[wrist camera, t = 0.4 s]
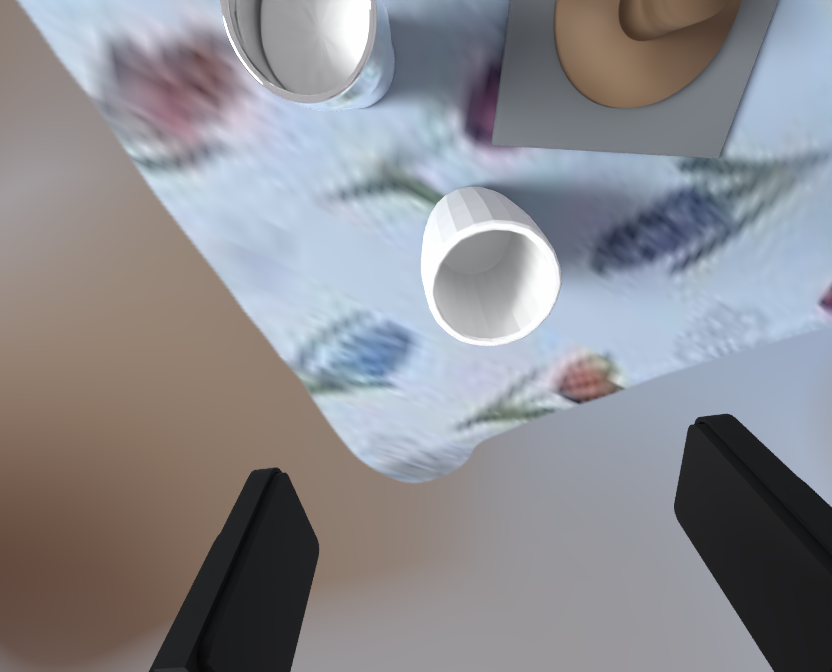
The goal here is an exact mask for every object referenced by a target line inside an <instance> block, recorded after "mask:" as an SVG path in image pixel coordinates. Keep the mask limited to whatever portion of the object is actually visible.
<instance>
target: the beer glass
mask: <svg viewBox="0 0 832 672" xmlns="http://www.w3.org/2000/svg"><path fill="white" fill-rule="evenodd" d="M220 6H221V13H222V18H223V22H224V26H225V29H226V32H227V35H228V38H229V40H230V43H231V45H232V47H233V49H234V51H235V53H236V55H237V56H238V58H239V60H240V61H241V63H242V64H243V65H244V67H245V68H246V69H247V71H248V72H249V73H250V74H251V75H252V76H253V77H254V78H255V79H256V80H257V81H258V82H259V83H260V84H261V85H262V86H263V87H265V88H266V89H267V90H269V91H270V92H272V93H274V94H275V95H277V96H279V97H281V98H284V99H286V100H289V101H292V102H294V103H296V104H298V105H301V106H303V107H306V108H310V109H314V110H318V111H342V110H346V109H350V108H354V109H360V108H366V107H369V106H371V105H373V104H375V103H376V102H377V101H379V100H380V99H381V98H382V97H383V96H384V94H385V93H386V92H387V90H388V88H389V87H390V85H391V82H392V79H393V75H394V70H395V56H394V50H393V46H392V43H391V31H390V23H389V18H388V13H387V9H386V5H385V2H384V0H220Z"/></svg>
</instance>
